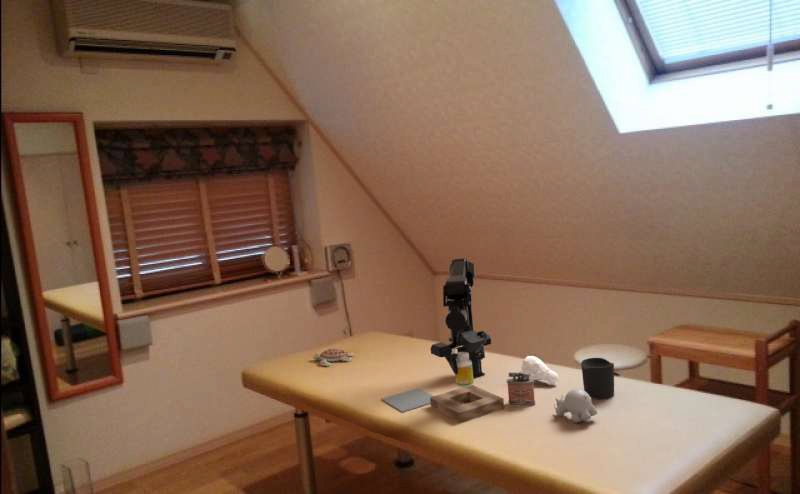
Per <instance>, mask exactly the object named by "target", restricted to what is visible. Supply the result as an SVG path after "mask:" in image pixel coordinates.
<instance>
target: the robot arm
mask: <svg viewBox="0 0 800 494" xmlns="http://www.w3.org/2000/svg"><path fill="white" fill-rule="evenodd" d="M448 271H449V277H448V278H446V280H445V283H444V284H443V285H442V286H443V287H442V291H443V292H442V295H443V296H442V301H443V302H442V303H443V304H442V306H443V307H448V311H447V314H446V316H445V325H446V327H447V329H449V330H450V337H449V338H448V342H450V343H445V342H443V341H441V342H437V343H433V344H431V345H430V354H431V355H434V356H437V357H438V358H445V360H446V361H447V363H448V365H449V368H451V370H452V372H453V374H454V375H455V374H457V361H456V360H457V359H456V358H457V356H458V354H456V353H458V352H468V353H469V359H470V360H471V361H472V369H473V379H476V378H478V377H483V376H485V374H486V373H485V372H483V367H482V360H484V359H485V358H486V355H485V346H490V345H491V344H492V337H491V335H490V334H488V333H487V332H486V331H485V330H480V331H476V330H475V324H474V313H473V303H472V302H473V298H472V297H473V296H472V288H473V286H474V283H475V279H476V277H477V276H476V272H477V271H476V266H475V263H473V262H471V261H469V260H468V258H465V257H462V258H454V259H452V260H451V263H450V264H449V270H448ZM456 351H457V352H456Z"/></svg>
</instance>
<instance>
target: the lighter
mask: <svg viewBox="0 0 800 494" xmlns="http://www.w3.org/2000/svg"><path fill="white" fill-rule="evenodd" d="M525 377H526V378H525ZM506 383H507V395H508V401H507V402H508V403H507V404H508V405H510V406H515V407H533V406H535V405H536V400H535V391H534V390H535V388H534V383H535V380H533V379H529V373H523V371H522V370H520V371H519V372H517V371H509V372H508V378H507V379H506Z"/></svg>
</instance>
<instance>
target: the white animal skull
mask: <svg viewBox="0 0 800 494" xmlns="http://www.w3.org/2000/svg"><path fill="white" fill-rule="evenodd" d="M521 364H522V366H521V371H522V372H523V373H529V379H533V380H534V381H536V380H538V381H539V380H541V381H542V380H543V381H547V384H548V386H554V385H556V383H557V382H558V381H559V375H558V374H557V373H556V372H555V371H554V370H551V369H550V368H549V367H548V366H547V365H546V364H545V363H544V362H543V361H542V359H540V358H538V357H537V356H534V355H528V356H526V357H525V358H524V359H523V360H522V363H521ZM525 378H526V377H525Z"/></svg>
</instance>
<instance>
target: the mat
mask: <svg viewBox="0 0 800 494" xmlns="http://www.w3.org/2000/svg"><path fill="white" fill-rule="evenodd" d="M433 396H434V395H433V394H432V393H429V392H427V391H426V390H424V389H421V388H420V387H417V388H413V389H410V390H406V391H402V392H400V393H396V394H393V395H390V396H386V397H382V398H381V400H382V401H383V402H384V403H386V404H388V405H389V406H391V407H393V408H394V409H395V410H398V411H399V412H401V413H402V414H403V413H406V412H410V411H412V410H416V409H419V408H421V407H424V406H429V405H431V403H430V397H433Z"/></svg>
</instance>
